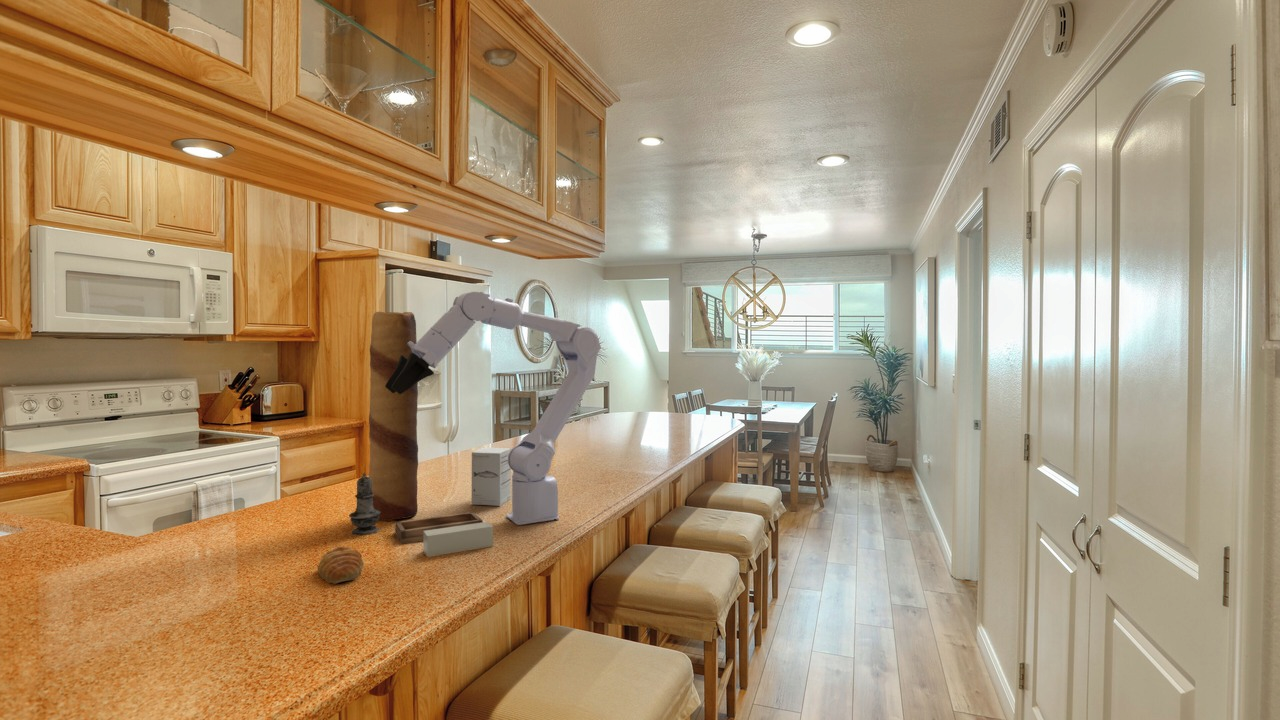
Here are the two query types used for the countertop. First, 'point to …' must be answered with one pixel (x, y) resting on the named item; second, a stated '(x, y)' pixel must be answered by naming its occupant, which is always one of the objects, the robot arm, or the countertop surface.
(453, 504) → the countertop surface
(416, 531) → the tray
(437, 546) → the grey rectangular block
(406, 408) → the wafer roll
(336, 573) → the pastry
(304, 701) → the countertop surface
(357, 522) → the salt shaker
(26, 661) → the countertop surface
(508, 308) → the robot arm
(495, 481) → the supplement box
